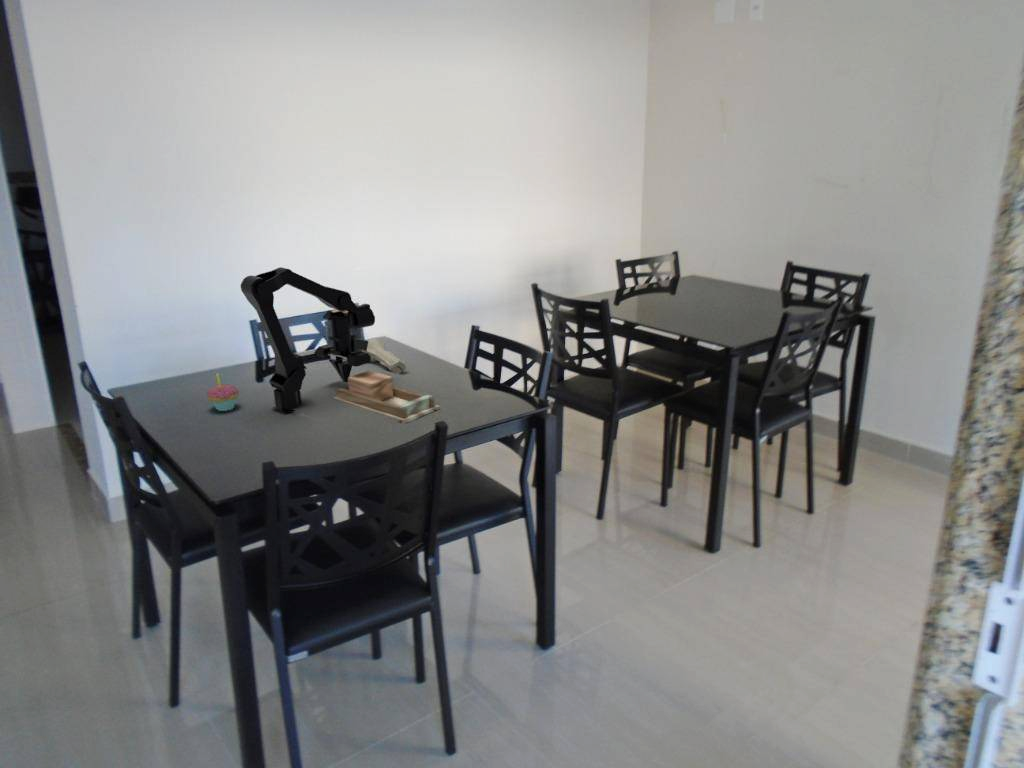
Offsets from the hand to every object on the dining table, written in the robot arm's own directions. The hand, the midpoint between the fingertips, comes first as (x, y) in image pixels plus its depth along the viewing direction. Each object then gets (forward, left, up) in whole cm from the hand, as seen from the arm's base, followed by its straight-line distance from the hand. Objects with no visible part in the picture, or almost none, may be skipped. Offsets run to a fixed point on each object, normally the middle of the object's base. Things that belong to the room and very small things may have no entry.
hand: (345, 382), depth 224 cm
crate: (0, -11, -2) cm, 12 cm away
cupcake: (-30, +18, -4) cm, 35 cm away
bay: (0, -17, -4) cm, 18 cm away
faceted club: (+24, +10, -4) cm, 27 cm away
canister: (+27, +34, -4) cm, 43 cm away
